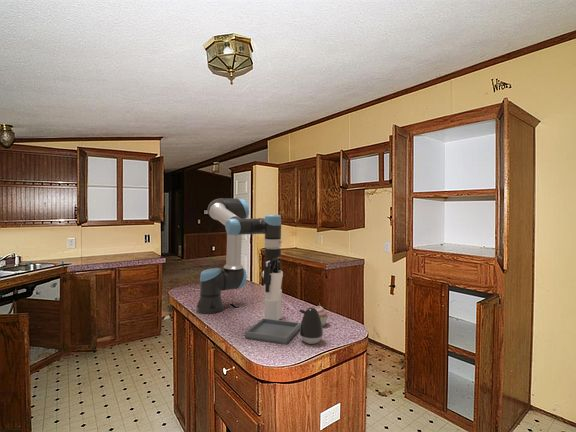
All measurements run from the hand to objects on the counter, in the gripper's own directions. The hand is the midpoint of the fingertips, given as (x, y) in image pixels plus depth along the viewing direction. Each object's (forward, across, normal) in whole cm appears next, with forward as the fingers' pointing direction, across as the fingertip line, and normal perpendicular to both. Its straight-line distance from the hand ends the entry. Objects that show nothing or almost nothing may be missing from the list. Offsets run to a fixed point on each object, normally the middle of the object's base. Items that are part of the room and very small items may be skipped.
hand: (272, 296), depth 153 cm
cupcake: (+18, +21, -17) cm, 33 cm away
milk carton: (+18, +21, +8) cm, 29 cm away
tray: (+18, +2, 0) cm, 18 cm away
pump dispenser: (+18, -1, -19) cm, 27 cm away
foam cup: (+2, 0, 0) cm, 2 cm away
